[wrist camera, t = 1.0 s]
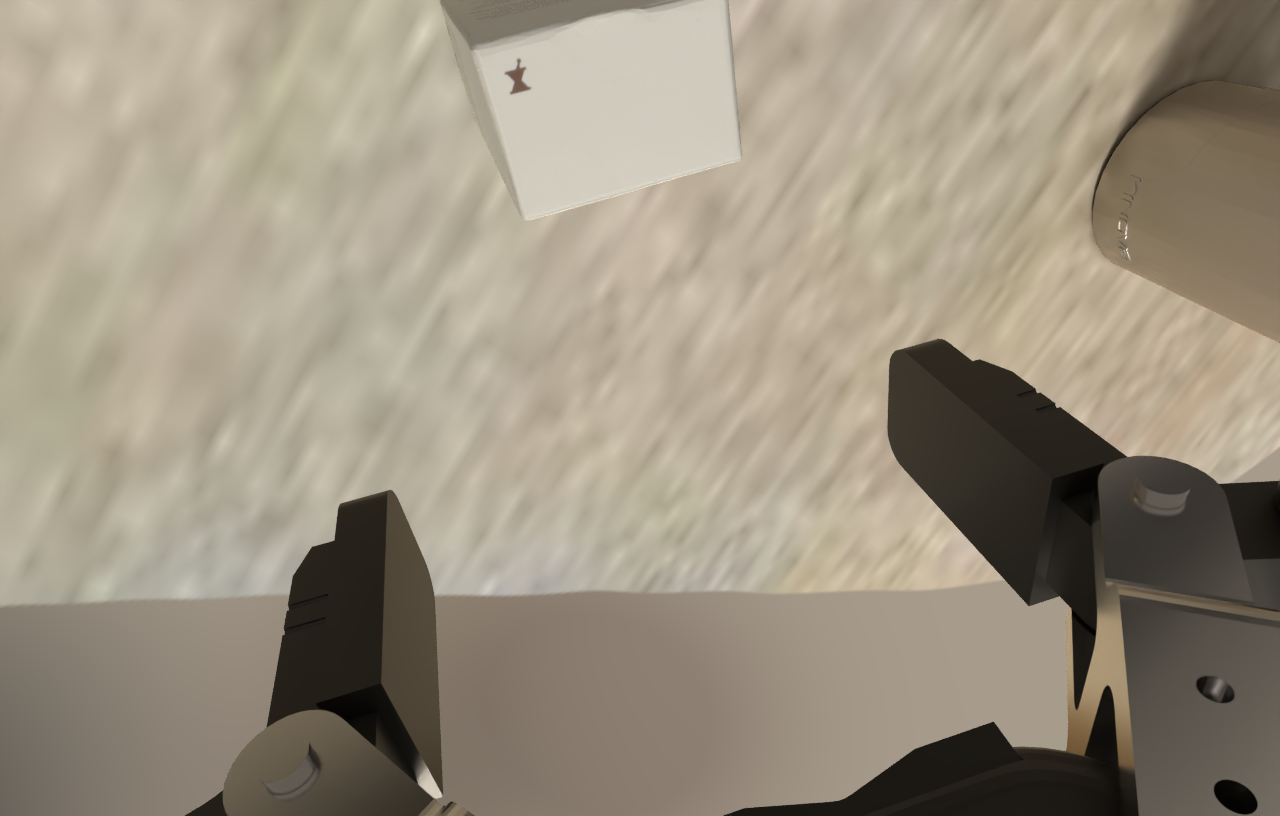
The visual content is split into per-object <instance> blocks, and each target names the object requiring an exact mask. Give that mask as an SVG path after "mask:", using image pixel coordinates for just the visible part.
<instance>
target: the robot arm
mask: <svg viewBox="0 0 1280 816" xmlns="http://www.w3.org/2000/svg"><path fill="white" fill-rule="evenodd" d="M1092 215H1093V232H1094V236H1095V239H1096V243H1097V245H1098V247H1099V248H1100V250H1101V252H1102V253H1103V255H1104V256H1105V257H1106V258H1108V259H1109V260H1110V261H1111V262H1113V263H1114V264H1116V265H1118V266H1120V267H1122V268H1124V269H1126V270H1128V271H1131V272H1133V273H1135V274H1137V275H1139V276H1141V277H1143V278H1145V279H1147V280H1149V281H1152V282H1154V283H1156V284H1158V285H1160V286H1162V287H1164V288H1166V289H1168V290H1170V291H1173V292H1174V293H1176V294H1178V295H1180V296H1182V297H1184V298H1186V299H1189V300H1191V301H1193V302H1195V303H1197V304H1199V305H1201V306H1203V307H1205V308H1207V309H1209V310H1212V311H1214V312H1216V313H1218V314H1220V315H1222V316H1224V317H1226V318H1228V319H1230V320H1233V321H1235V322H1237V323H1239V324H1241V325H1243V326H1245V327H1247V328H1249V329H1251V330H1254V331H1256V332H1258V333H1260V334H1262V335H1264V336H1266V337H1268V338H1270V339H1272V340H1275V341H1277V342H1279V343H1280V90H1276V89H1271V88H1264V89H1262V88H1256V87H1251V86H1246V85H1240V84H1235V83H1229V82H1224V81H1219V80H1215V81H1206V82H1199V83H1196V84H1193V85H1190V86H1188V87H1185V88H1182V89H1180V90H1178V91H1176V92H1175V93H1173V94H1171V95H1170V96H1168V97H1166V98H1164V99H1163V100H1161V101H1160V102H1159V103H1158V104H1156V105H1155V106H1154V107H1153V108H1152V109H1150V110H1149V111H1148V112H1147V113H1145V114H1144V115H1143V116H1142V117H1141V118H1140V120H1139V121H1138V122H1137V123H1136V124H1135V125H1134V126H1133V127H1132V128H1131V129H1130V130H1129V131H1128V133H1127V134H1126V135H1125V137H1124V138H1123V140H1122V141H1121V142H1120V144H1119V145H1118V147H1117V148H1116V149H1115V151H1114V152H1113V154H1112V156H1111V158H1110V160H1109V162H1108V164H1107V166H1106V168H1105V170H1104V171H1103V174H1102V177H1101V180H1100V182H1099V185H1098V188H1097V191H1096V195H1095V200H1094V206H1093V211H1092ZM888 437H889V442H890V445H891V448H892V451H893V453H894V455H895V457H896V459H897V461H898V462H899V464H900V465H901V466H902V467H903V468H904V470H905V471H906V472H907V473H908V474H909V475H910V476H911V477H912V478H913V479H914V481H915V482H916V483H917V484H918V485H919V486H920V487H921V488H922V489H923V490H924V492H925V493H926V494H927V495H928V496H929V497H930V498H931V499H932V500H933V501H934V503H935V504H936V505H937V506H938V507H939V508H940V509H941V510H942V511H943V512H944V514H945V515H946V516H947V517H948V518H949V519H950V520H951V521H952V522H953V523H954V525H955V526H956V527H957V528H958V529H959V530H960V531H961V532H962V533H963V534H964V535H965V537H966V538H967V539H968V540H969V541H970V542H971V543H972V544H973V545H974V546H975V548H976V549H977V550H978V551H979V552H980V553H981V554H982V555H983V556H984V557H985V559H986V560H987V561H988V562H989V563H990V564H991V565H992V566H993V567H994V568H995V570H996V571H997V572H998V573H999V574H1000V575H1001V576H1002V577H1003V578H1004V579H1005V581H1006V582H1007V583H1008V584H1009V585H1010V586H1011V587H1012V588H1013V589H1014V590H1015V591H1016V593H1017V594H1018V595H1019V596H1020V597H1021V598H1022V599H1023V600H1024V601H1025V602H1026V604H1027V605H1028V606H1031V605H1034V604H1037V603H1040V602H1043V601H1046V600H1049V599H1052V598H1055V597H1058V596H1060V597H1061V598H1062V599H1063V600H1064V601H1065V602H1066V603H1067V604H1068V605H1069V608H1068V613H1067V618H1066V650H1067V651H1066V652H1067V653H1066V654H1067V698H1068V699H1067V700H1068V738H1067V749H1066V751H1060V750H1054V749H1047V748H1036V747H1012V746H1011V745H1010V743H1009V742H1008V741H1007V739H1006V738H1005V737H1004V735H1003V734H1002V733H1001V731H1000V730H999V728H998V727H997V726H996V724H995V723H994V722H991V723H989V724H986V725H983V726H980V727H977V728H974V729H971V730H969V731H966V732H963V733H960V734H957V735H954V736H951V737H948V738H945V739H942V740H940V741H937V742H934V743H931V744H928V745H925V746H922V747H920V748H917V749H914V750H913V751H912V752H910V753H909V754H907V755H906V756H905V757H903V758H902V759H900V760H899V761H898V762H896V763H895V764H893V765H892V766H891V767H889V768H888V769H886V770H885V771H884V772H882V773H881V774H880V775H878V776H877V777H875V778H874V779H873V780H871V781H870V782H868V783H867V784H866V785H864V786H863V787H861V788H860V789H859V790H857V791H856V792H854V793H853V794H852V795H850V796H848V797H847V798H845V799H842V800H840V801H834V802H824V803H810V804H796V805H783V806H769V807H755V808H744V809H741V810H738V811H735V812H733V813H730V814H727V815H724V816H1280V481H1269V482H1250V483H1229V484H1218V483H1217V482H1216V481H1215V480H1214V479H1213V478H1211V477H1210V476H1209V475H1207V474H1206V473H1204V472H1202V471H1201V470H1199V469H1197V468H1195V467H1193V466H1190V465H1188V464H1185V463H1182V462H1179V461H1176V460H1172V459H1168V458H1162V457H1156V456H1132V457H1127V456H1125V455H1124V454H1123V453H1121V452H1120V451H1119V450H1117V449H1116V448H1115V447H1113V446H1112V445H1111V444H1109V443H1108V442H1106V441H1105V440H1104V439H1102V438H1101V437H1100V436H1098V435H1097V434H1096V433H1094V432H1093V431H1092V430H1090V429H1089V428H1088V427H1086V426H1085V425H1084V424H1082V423H1081V422H1079V421H1078V420H1077V419H1075V418H1074V417H1073V416H1071V415H1070V414H1069V413H1067V412H1066V411H1065V410H1063V409H1062V408H1061V407H1059V408H1056V406H1055V403H1054V402H1052V401H1051V400H1050V399H1048V398H1047V397H1046V396H1044V395H1043V394H1042V393H1037V392H1036V389H1035V388H1034V387H1032V386H1031V385H1030V384H1028V383H1027V382H1026V381H1024V380H1023V379H1021V378H1020V377H1019V376H1017V375H1016V374H1015V373H1013V372H1012V371H1009V370H1007V369H1004V368H1001V367H999V366H996V365H993V364H991V363H988V362H985V361H982V360H980V359H979V360H976V361H972V360H970V359H969V358H968V357H966V356H965V355H964V354H963V353H961V352H960V351H959V350H957V349H956V348H955V347H953V346H952V345H951V344H950V343H948V342H947V341H945V340H943V339H937V340H933V341H929V342H926V343H922V344H919V345H915V346H911V347H908V348H904V349H901V350H897V351H895V352H894V353H893V354H892V356H891V358H890V365H889V395H888ZM288 607H289V611H287V613H286V619H285V625H284V631H285V635H283V636H282V643H281V648H280V654H279V660H278V665H277V671H276V677H275V683H274V688H273V695H272V700H271V706H270V712H269V717H268V723H267V728H266V729H264V730H263V731H262V732H260V733H259V734H258V735H257V736H256V737H255V738H254V739H252V740H251V741H250V742H249V743H248V744H247V745H246V747H245V748H244V749H243V750H242V751H241V752H240V754H239V755H238V757H237V758H236V760H235V761H234V763H233V764H232V766H231V768H230V771H229V772H228V775H227V778H226V780H225V783H224V789H223V791H222V792H220V793H219V794H218V795H217V796H215V797H214V798H212V799H211V800H209V801H208V802H206V803H205V804H203V805H202V806H200V807H199V808H197V809H195V810H193V811H192V812H190V813H189V814H187V815H185V816H474V815H473V814H471V813H470V812H469V811H468V810H466V809H465V808H464V807H462V806H460V805H459V804H457V803H454V802H450V803H449V804H448V805H447V806H444V805H442V804H441V803H439V802H438V801H437V800H436V799H437V798H440V797H443V783H442V760H441V734H440V710H439V688H438V663H437V641H436V640H437V639H436V615H435V599H434V592H433V586H432V582H431V578H430V574H429V571H428V568H427V565H426V563H425V560H424V558H423V555H422V553H421V551H420V549H419V546H418V544H417V542H416V539H415V537H414V535H413V532H412V530H411V528H410V526H409V523H408V521H407V519H406V516H405V514H404V512H403V509H402V507H401V505H400V503H399V500H398V498H397V496H396V495H395V493H394V492H393V491H392V490H388V491H384V492H381V493H377V494H374V495H370V496H366V497H363V498H359V499H356V500H352V501H348V502H345V503H341V504H340V505H339V508H338V515H337V524H336V533H335V541H332V542H328V543H325V544H321V545H318V546H314V547H312V548H311V549H310V551H309V552H308V554H307V555H306V557H305V559H304V560H303V562H302V563H301V565H300V566H299V568H298V569H297V571H296V572H295V574H294V575H293V579H292V585H291V590H290V596H289V602H288Z"/></svg>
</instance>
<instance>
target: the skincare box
mask: <svg viewBox="0 0 1280 816" xmlns="http://www.w3.org/2000/svg"><path fill="white" fill-rule="evenodd" d="M440 3H441V6H442V10H443V13H444V17H445V20H446V24H447V28H448V31H449V35H450V38H451V42H452V45H453V49H454V52H455V56H456V59H457V63H458V66H459V70H460V73H461V76H462V79H463V82H464V86H465V89H466V92H467V95H468V98H469V101H470V104H471V108H472V111H473V115H474V118H475V120H476V123H477V125H478V127H479V129H480V131H481V134H482V136H483V138H484V140H485V142H486V144H487V146H488V149H489V151H490V153H491V155H492V157H493V159H494V161H495V163H496V165H497V168H498V170H499V172H500V174H501V176H502V178H503V181H504V183H505V185H506V187H507V189H508V191H509V193H510V195H511V197H512V199H513V202H514V204H515V206H516V208H517V210H518V212H519V214H520V216H521V218H523V219H524V220H527V221H529V220H533V219H536V218H540V217H543V216H547V215H551V214H554V213H558V212H562V211H565V210H569V209H572V208H576V207H579V206H583V205H587V204H590V203H594V202H598V201H601V200H605V199H608V198H612V197H615V196H619V195H622V194H625V193H629V192H632V191H635V190H639V189H642V188H645V187H649V186H652V185H655V184H659V183H662V182H665V181H669V180H672V179H675V178H679V177H683V176H686V175H690V174H694V173H697V172H701V171H704V170H707V169H711V168H714V167H718V166H722V165H725V164H729V163H734V162H738V161H740V160H741V159H742V150H741V139H740V127H739V116H738V104H737V92H736V82H735V71H734V58H733V46H732V36H731V25H730V14H729V3H728V0H441V1H440Z"/></svg>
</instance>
